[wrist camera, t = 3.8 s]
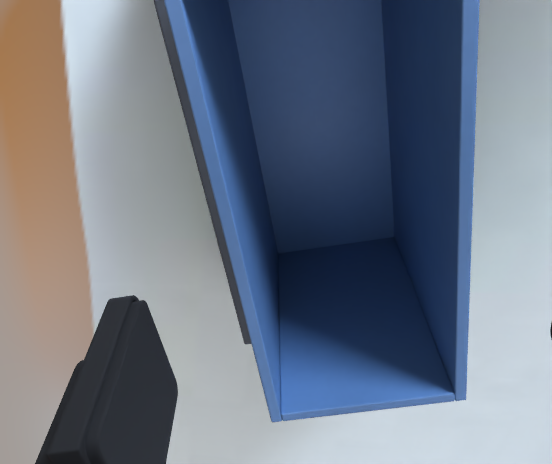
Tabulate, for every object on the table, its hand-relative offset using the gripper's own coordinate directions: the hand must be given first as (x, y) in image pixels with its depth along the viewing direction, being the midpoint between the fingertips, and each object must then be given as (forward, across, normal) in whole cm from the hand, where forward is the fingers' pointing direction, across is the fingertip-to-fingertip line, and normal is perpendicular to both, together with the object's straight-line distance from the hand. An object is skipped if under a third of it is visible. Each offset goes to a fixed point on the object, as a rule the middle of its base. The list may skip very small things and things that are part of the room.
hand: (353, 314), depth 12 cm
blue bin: (+14, 0, 0) cm, 15 cm away
